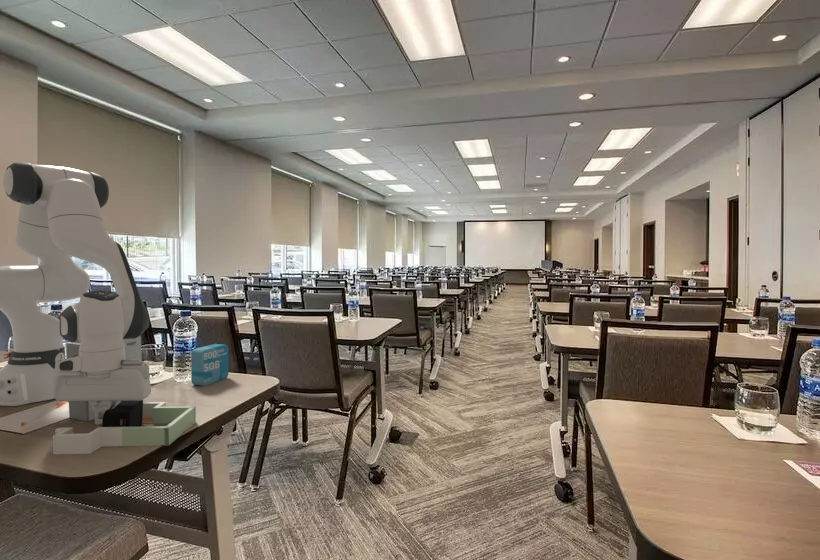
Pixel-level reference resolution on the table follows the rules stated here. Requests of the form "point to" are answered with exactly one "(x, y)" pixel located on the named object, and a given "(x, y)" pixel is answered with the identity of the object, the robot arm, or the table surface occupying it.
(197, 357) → the data package
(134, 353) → the hard drive box
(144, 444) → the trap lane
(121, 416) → the digital camera
